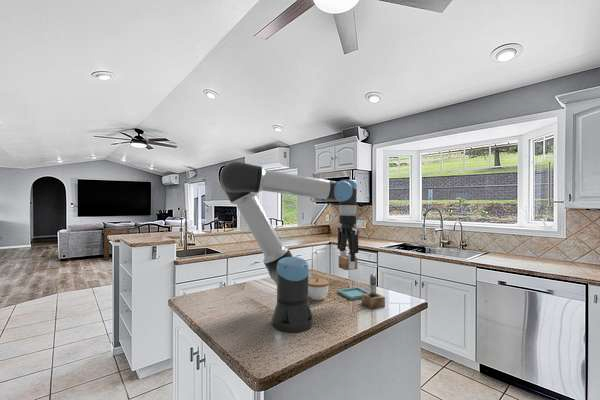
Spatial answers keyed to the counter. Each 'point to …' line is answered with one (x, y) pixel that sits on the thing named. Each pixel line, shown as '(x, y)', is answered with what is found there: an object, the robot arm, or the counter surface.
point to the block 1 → (345, 262)
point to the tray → (352, 293)
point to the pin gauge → (373, 285)
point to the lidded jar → (317, 288)
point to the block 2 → (373, 300)
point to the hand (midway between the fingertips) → (347, 267)
